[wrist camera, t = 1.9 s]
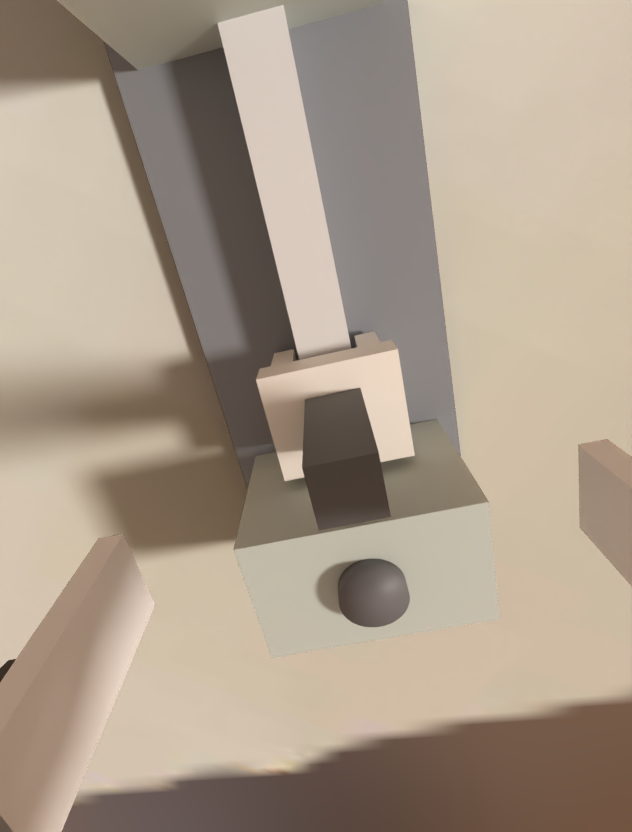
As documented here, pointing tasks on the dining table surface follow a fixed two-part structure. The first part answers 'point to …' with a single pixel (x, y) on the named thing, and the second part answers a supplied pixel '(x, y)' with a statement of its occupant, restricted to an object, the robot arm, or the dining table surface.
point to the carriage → (339, 426)
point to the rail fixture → (309, 285)
